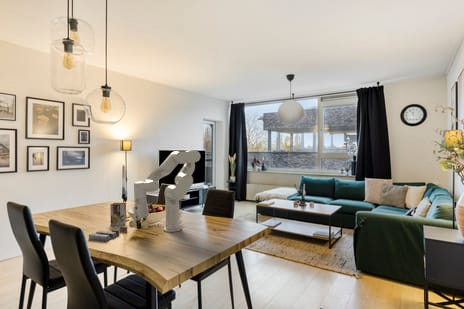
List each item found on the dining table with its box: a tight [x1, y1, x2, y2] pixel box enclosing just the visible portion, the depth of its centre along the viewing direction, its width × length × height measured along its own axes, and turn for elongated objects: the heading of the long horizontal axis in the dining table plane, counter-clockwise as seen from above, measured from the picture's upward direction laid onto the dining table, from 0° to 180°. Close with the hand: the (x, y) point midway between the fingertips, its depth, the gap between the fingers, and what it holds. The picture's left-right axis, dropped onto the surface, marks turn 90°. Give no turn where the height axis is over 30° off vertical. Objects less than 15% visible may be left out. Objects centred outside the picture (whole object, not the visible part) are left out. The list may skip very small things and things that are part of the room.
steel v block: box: [88, 230, 117, 242], centre depth 165 cm, size 9×13×3 cm
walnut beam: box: [111, 225, 128, 237], centre depth 175 cm, size 9×5×4 cm, turn 165°
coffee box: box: [110, 202, 127, 227], centre depth 196 cm, size 9×6×16 cm
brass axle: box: [128, 219, 150, 229], centre depth 171 cm, size 5×12×5 cm, turn 75°
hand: (141, 227), depth 171 cm, fingers closed on brass axle, 5 cm apart
